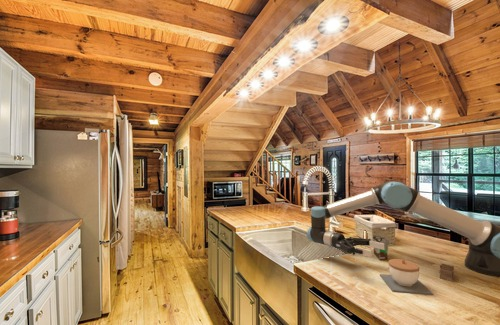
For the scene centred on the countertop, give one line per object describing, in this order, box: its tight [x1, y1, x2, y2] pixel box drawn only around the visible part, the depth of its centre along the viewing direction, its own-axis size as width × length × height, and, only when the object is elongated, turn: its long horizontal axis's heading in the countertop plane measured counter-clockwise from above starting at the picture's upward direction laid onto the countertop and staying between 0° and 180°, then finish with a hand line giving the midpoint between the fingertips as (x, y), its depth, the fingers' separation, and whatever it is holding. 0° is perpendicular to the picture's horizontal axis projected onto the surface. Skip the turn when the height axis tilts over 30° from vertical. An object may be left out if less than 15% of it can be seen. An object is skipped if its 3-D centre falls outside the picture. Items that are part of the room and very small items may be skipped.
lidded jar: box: [387, 258, 420, 286], centre depth 97 cm, size 11×11×9 cm
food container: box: [372, 235, 390, 261], centre depth 126 cm, size 12×6×10 cm, turn 168°
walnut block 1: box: [439, 263, 455, 271], centre depth 105 cm, size 4×4×4 cm
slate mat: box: [379, 273, 434, 296], centre depth 97 cm, size 14×14×1 cm
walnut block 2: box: [439, 267, 455, 283], centre depth 101 cm, size 4×4×4 cm
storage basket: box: [353, 214, 397, 246], centre depth 155 cm, size 24×16×15 cm
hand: (378, 250), depth 104 cm, fingers open, 13 cm apart
